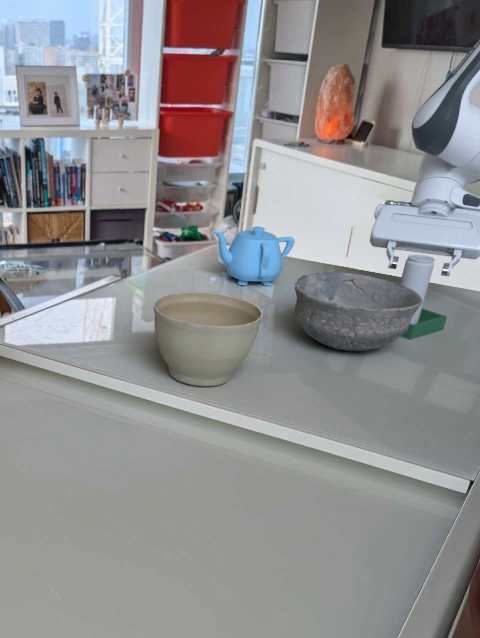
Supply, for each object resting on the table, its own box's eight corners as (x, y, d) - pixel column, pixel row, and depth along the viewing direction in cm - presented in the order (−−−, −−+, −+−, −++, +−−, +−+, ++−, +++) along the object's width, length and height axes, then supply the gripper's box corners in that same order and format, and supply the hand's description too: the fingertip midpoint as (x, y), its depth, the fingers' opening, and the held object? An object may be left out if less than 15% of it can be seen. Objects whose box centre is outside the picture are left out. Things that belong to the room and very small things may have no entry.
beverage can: (391, 325, 140) (408, 260, 133) (389, 317, 144) (405, 253, 137) (418, 329, 139) (437, 262, 132) (415, 320, 143) (433, 255, 136)
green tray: (397, 313, 148) (400, 300, 146) (443, 329, 141) (447, 316, 139) (363, 322, 143) (366, 309, 141) (410, 339, 136) (413, 326, 134)
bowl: (433, 359, 128) (451, 301, 123) (338, 376, 120) (352, 315, 115) (350, 319, 144) (362, 266, 138) (261, 332, 136) (270, 276, 130)
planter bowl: (269, 392, 114) (282, 322, 108) (170, 401, 110) (177, 329, 104) (225, 352, 127) (234, 288, 121) (134, 359, 123) (139, 293, 117)
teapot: (290, 284, 163) (301, 229, 157) (256, 294, 153) (266, 236, 148) (240, 271, 170) (249, 219, 164) (204, 281, 160) (212, 225, 154)
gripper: (380, 189, 144) (362, 253, 142) (496, 201, 138) (480, 269, 135) (376, 209, 150) (359, 271, 147) (488, 222, 144) (472, 287, 141)
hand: (418, 270), depth 141 cm, fingers open, 8 cm apart
